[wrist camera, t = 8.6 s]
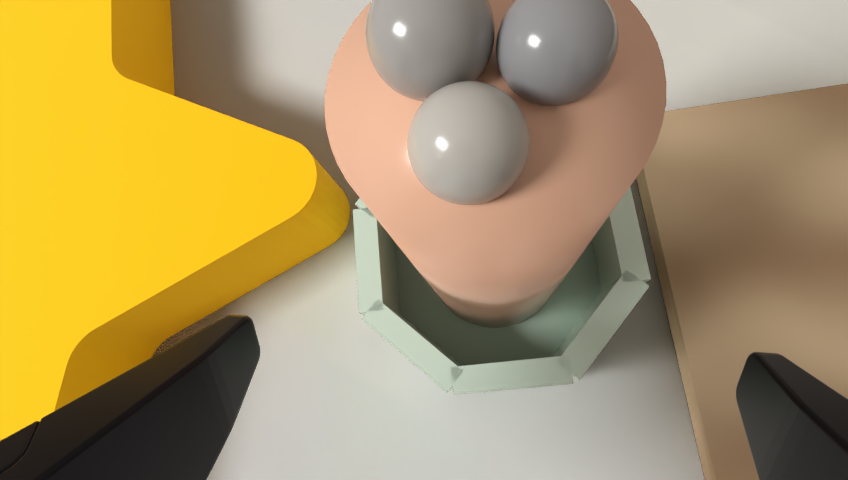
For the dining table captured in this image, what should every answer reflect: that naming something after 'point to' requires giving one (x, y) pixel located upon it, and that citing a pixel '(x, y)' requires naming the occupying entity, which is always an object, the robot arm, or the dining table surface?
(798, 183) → the board
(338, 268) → the dining table surface
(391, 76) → the peach cylinder with balls
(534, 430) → the dining table surface
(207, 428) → the robot arm
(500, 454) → the dining table surface
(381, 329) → the bowl
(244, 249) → the star
